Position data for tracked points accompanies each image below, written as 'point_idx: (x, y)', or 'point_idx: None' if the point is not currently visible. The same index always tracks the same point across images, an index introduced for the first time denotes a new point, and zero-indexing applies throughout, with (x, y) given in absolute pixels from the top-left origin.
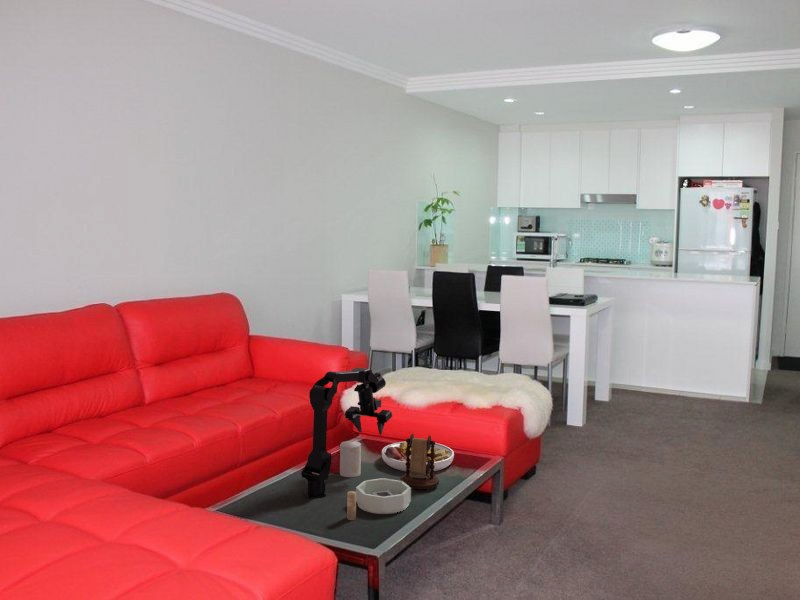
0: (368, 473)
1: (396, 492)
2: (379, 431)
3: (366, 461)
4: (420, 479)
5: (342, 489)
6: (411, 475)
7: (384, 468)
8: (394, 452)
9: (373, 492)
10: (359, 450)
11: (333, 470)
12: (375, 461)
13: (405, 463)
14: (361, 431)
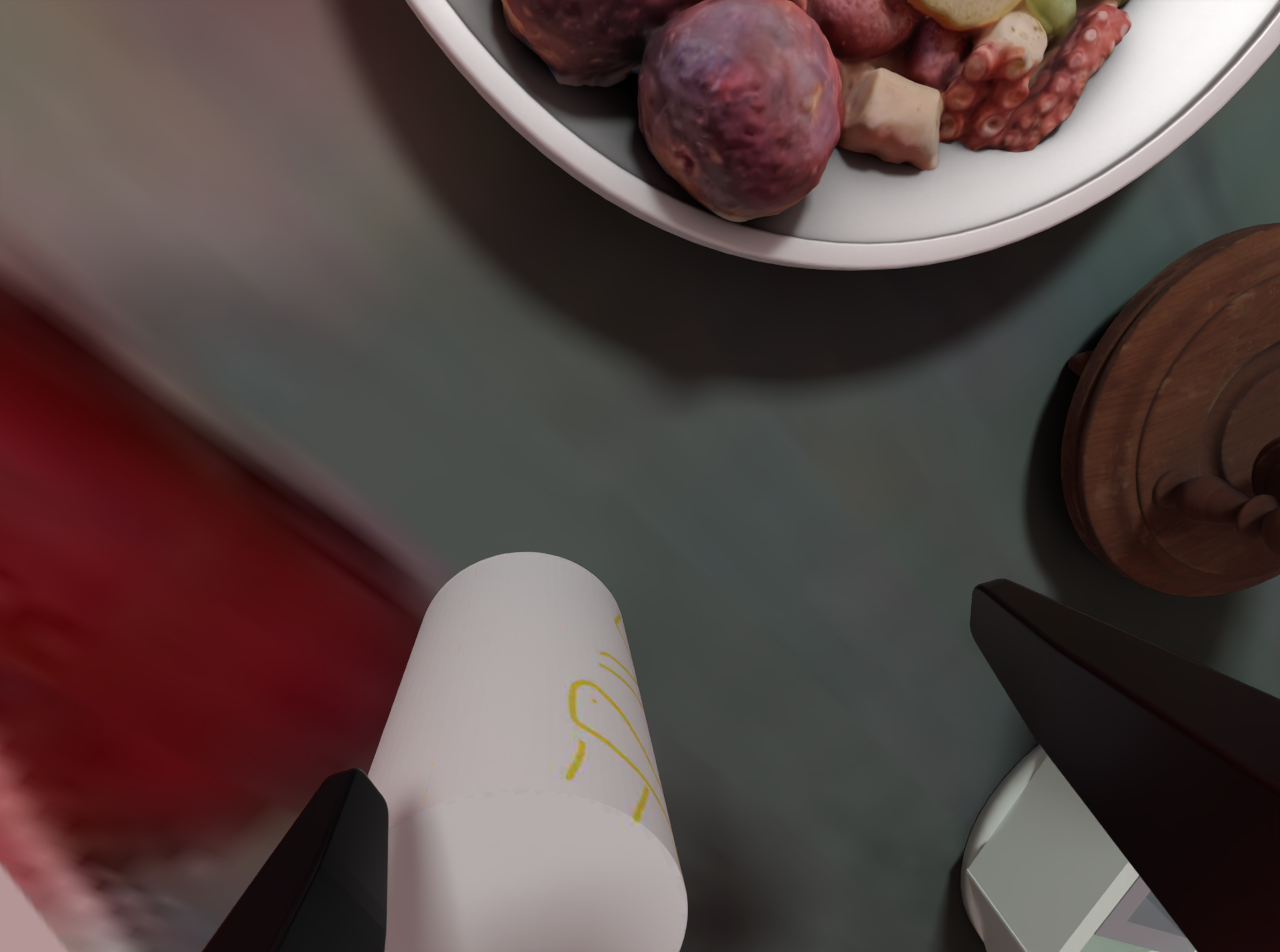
0: (648, 517)
1: None
2: (1105, 787)
3: (319, 234)
4: None
5: (749, 885)
6: (1198, 456)
7: (666, 278)
8: (821, 146)
9: (1107, 925)
10: (667, 813)
11: (336, 703)
12: (397, 146)
13: (1018, 237)
14: (360, 778)
